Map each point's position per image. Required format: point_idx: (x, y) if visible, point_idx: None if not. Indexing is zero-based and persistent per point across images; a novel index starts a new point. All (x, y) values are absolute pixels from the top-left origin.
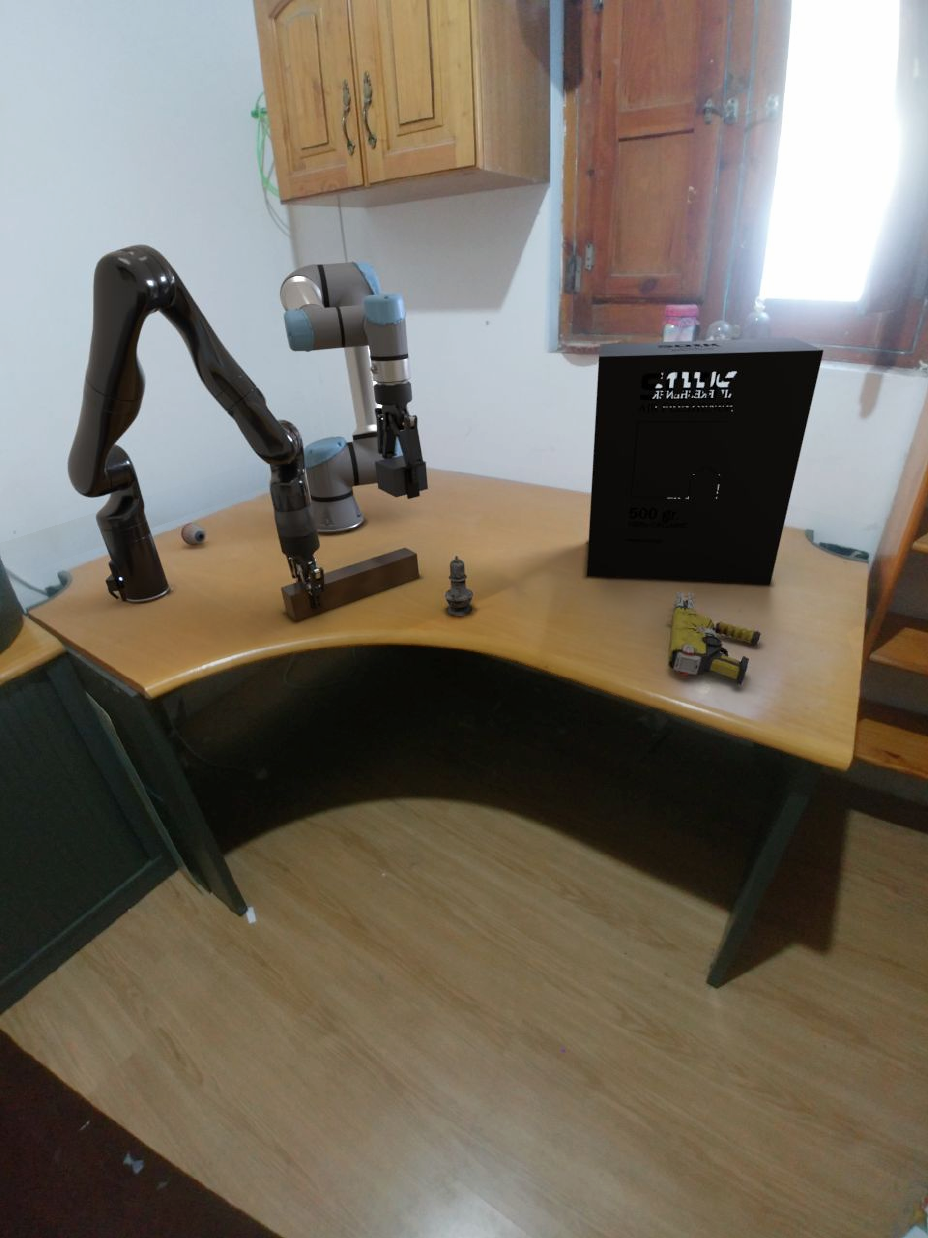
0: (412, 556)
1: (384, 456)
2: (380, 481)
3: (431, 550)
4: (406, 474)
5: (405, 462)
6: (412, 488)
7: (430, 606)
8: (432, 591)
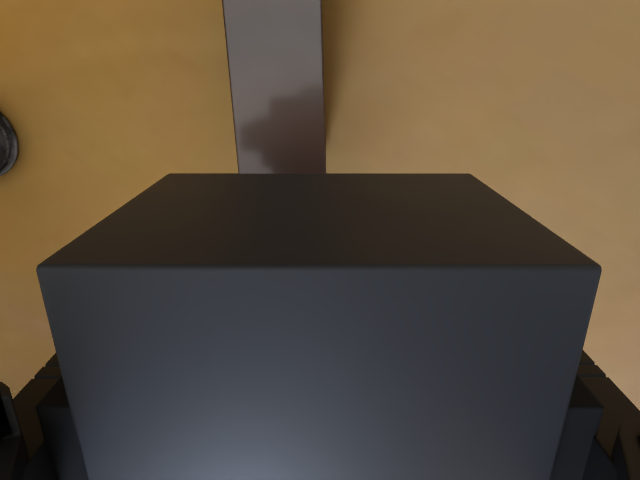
0: (237, 157)
1: (623, 442)
2: (424, 191)
3: None
4: None
5: (4, 475)
6: None
7: (48, 81)
8: (140, 142)
